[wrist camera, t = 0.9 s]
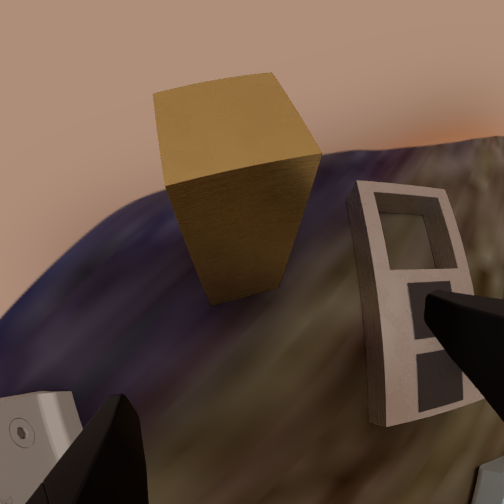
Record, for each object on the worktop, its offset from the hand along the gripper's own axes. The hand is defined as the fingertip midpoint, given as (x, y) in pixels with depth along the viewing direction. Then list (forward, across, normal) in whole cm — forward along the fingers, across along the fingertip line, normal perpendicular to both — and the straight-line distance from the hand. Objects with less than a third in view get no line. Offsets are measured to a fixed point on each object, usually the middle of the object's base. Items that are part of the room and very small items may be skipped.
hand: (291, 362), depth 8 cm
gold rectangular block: (+15, 0, +3) cm, 15 cm away
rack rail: (+10, -13, +8) cm, 18 cm away
